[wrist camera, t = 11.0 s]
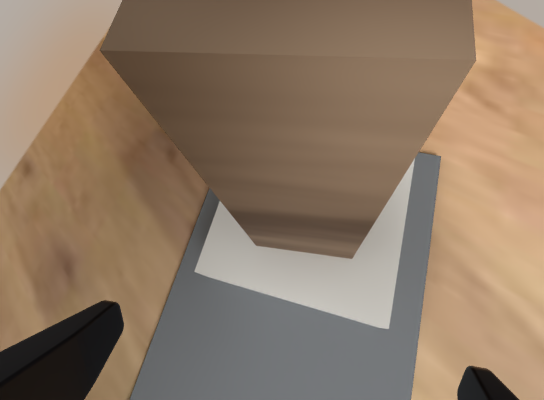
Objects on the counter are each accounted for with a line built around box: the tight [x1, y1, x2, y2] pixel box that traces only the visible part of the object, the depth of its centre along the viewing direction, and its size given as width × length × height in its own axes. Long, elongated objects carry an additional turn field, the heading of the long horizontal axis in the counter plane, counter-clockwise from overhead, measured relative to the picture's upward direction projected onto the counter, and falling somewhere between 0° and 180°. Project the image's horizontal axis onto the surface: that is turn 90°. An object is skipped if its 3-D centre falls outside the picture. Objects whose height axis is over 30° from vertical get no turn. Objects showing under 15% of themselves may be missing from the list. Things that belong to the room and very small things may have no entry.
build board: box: [130, 152, 441, 400], centre depth 17 cm, size 20×14×3 cm
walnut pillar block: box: [100, 0, 476, 259], centre depth 11 cm, size 5×5×13 cm
